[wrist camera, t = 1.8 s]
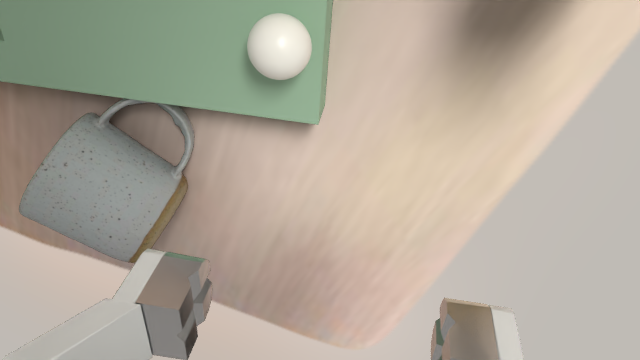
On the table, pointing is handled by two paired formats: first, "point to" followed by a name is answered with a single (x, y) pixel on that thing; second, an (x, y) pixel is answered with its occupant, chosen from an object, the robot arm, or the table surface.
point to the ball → (279, 46)
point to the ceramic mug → (108, 186)
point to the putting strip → (164, 52)
